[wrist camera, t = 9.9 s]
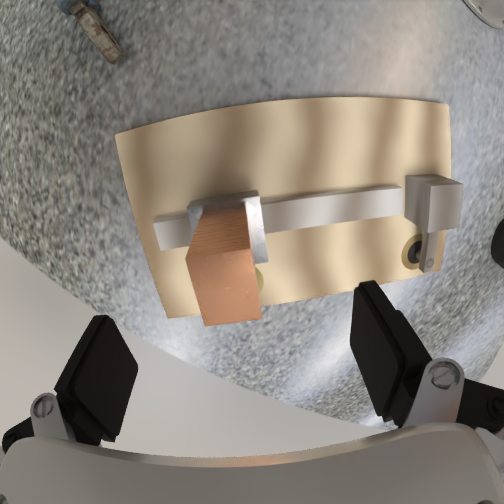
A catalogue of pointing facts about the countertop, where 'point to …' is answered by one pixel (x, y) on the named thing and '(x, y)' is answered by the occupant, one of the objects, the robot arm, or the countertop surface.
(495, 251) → the travel mug
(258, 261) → the block
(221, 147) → the wooden slide jig
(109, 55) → the pliers
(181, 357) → the countertop surface
